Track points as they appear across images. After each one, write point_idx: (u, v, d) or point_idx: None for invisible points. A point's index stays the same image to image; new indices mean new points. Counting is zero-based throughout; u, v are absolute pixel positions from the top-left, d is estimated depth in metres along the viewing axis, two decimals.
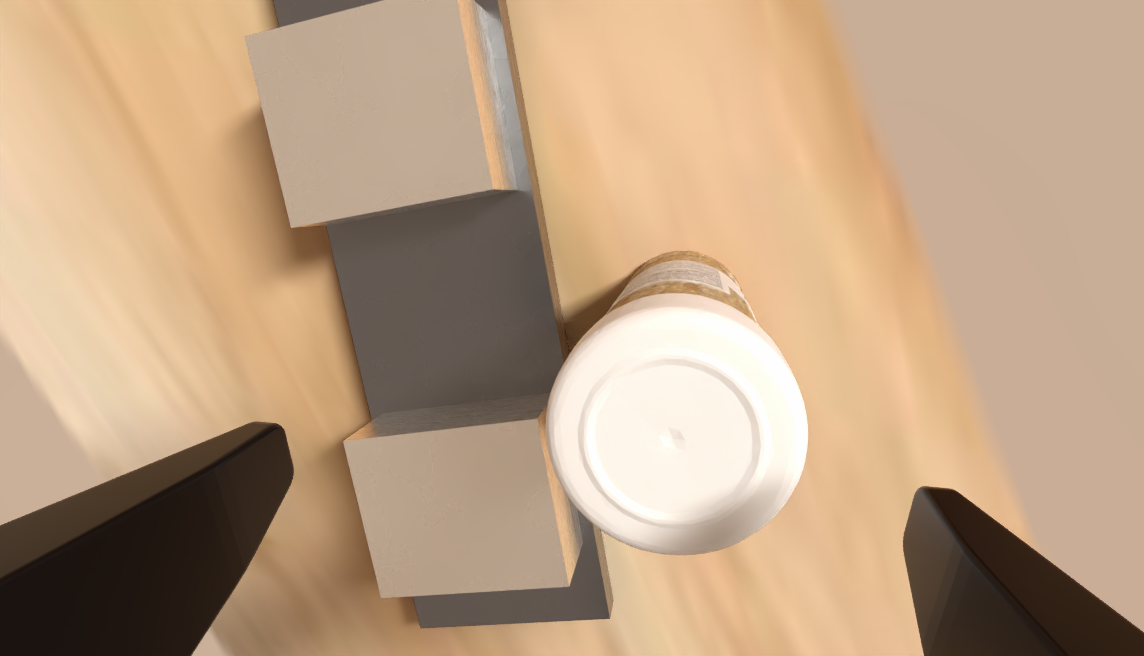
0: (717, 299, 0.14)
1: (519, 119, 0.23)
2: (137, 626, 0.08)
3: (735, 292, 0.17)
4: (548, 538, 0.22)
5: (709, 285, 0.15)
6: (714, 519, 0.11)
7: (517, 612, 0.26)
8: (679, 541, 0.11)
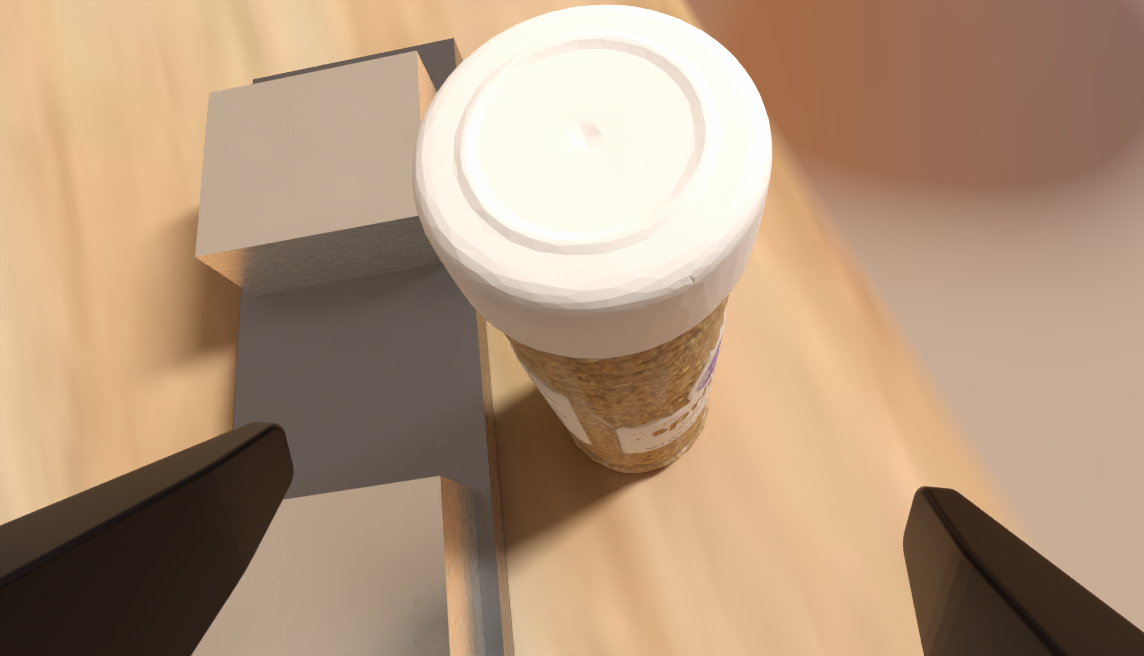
0: None
1: None
2: (137, 626, 0.08)
3: None
4: None
5: None
6: (645, 234, 0.07)
7: None
8: (592, 274, 0.07)
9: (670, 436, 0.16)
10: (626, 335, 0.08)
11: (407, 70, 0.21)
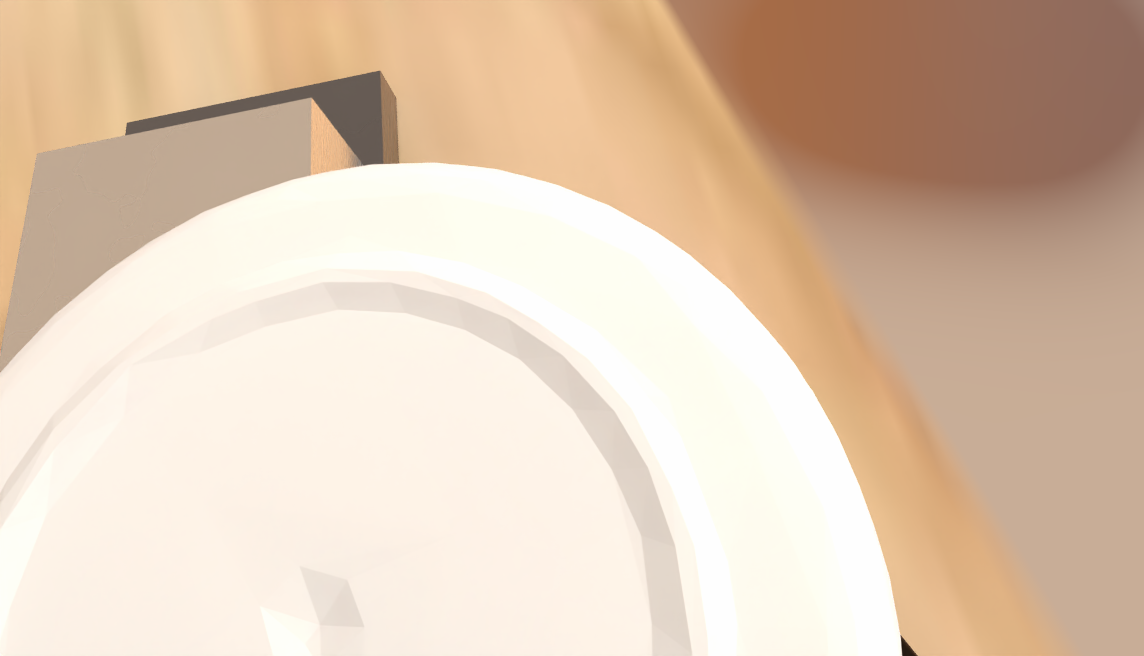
0: None
1: None
2: None
3: None
4: None
5: None
6: None
7: None
8: None
9: None
10: None
11: (297, 125, 0.15)
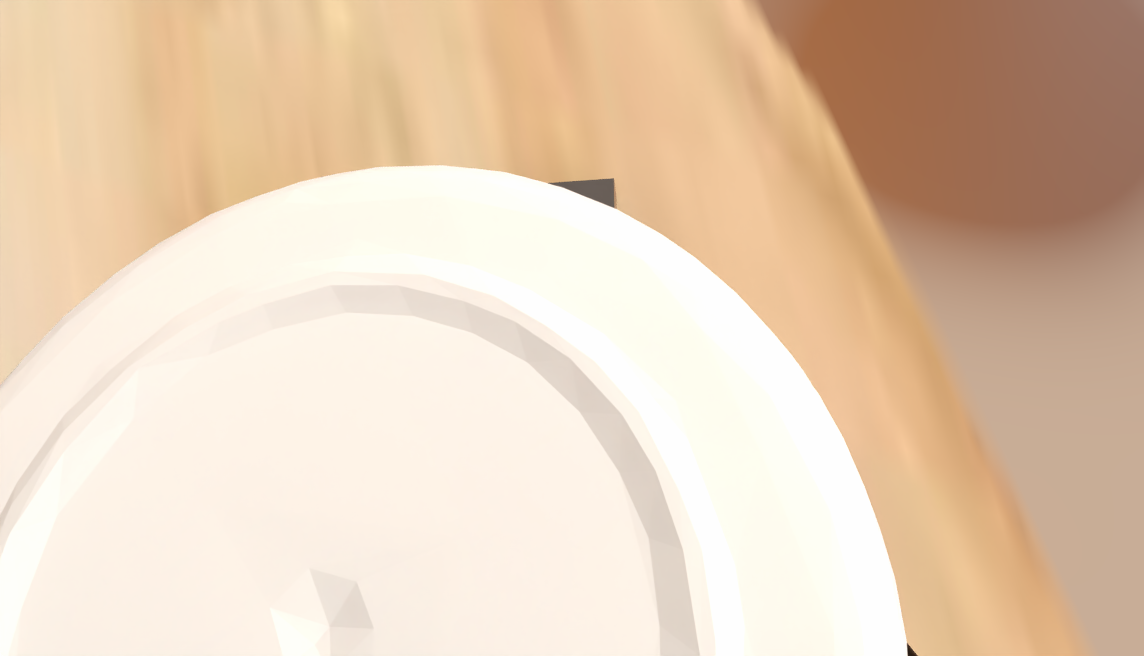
0: None
1: None
2: None
3: None
4: None
5: None
6: None
7: None
8: None
9: None
10: None
11: None
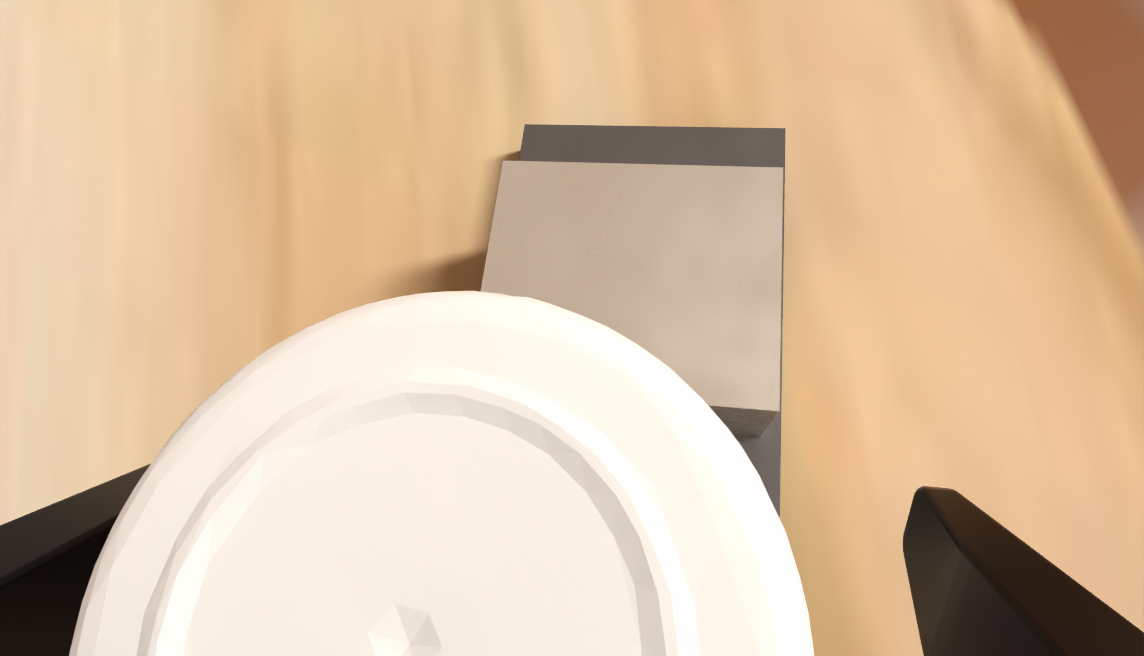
0: None
1: (781, 351, 0.17)
2: None
3: None
4: None
5: None
6: None
7: None
8: None
9: None
10: None
11: (768, 193, 0.16)
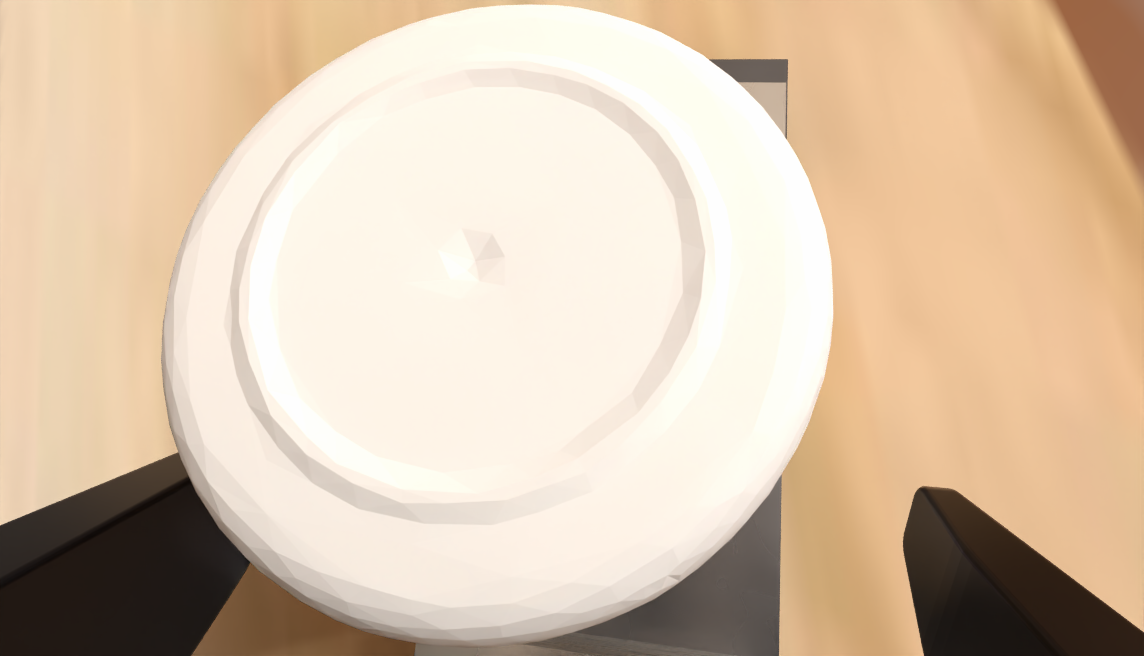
0: None
1: None
2: (137, 626, 0.08)
3: None
4: None
5: None
6: (579, 485, 0.04)
7: None
8: (469, 571, 0.04)
9: None
10: None
11: (771, 106, 0.16)
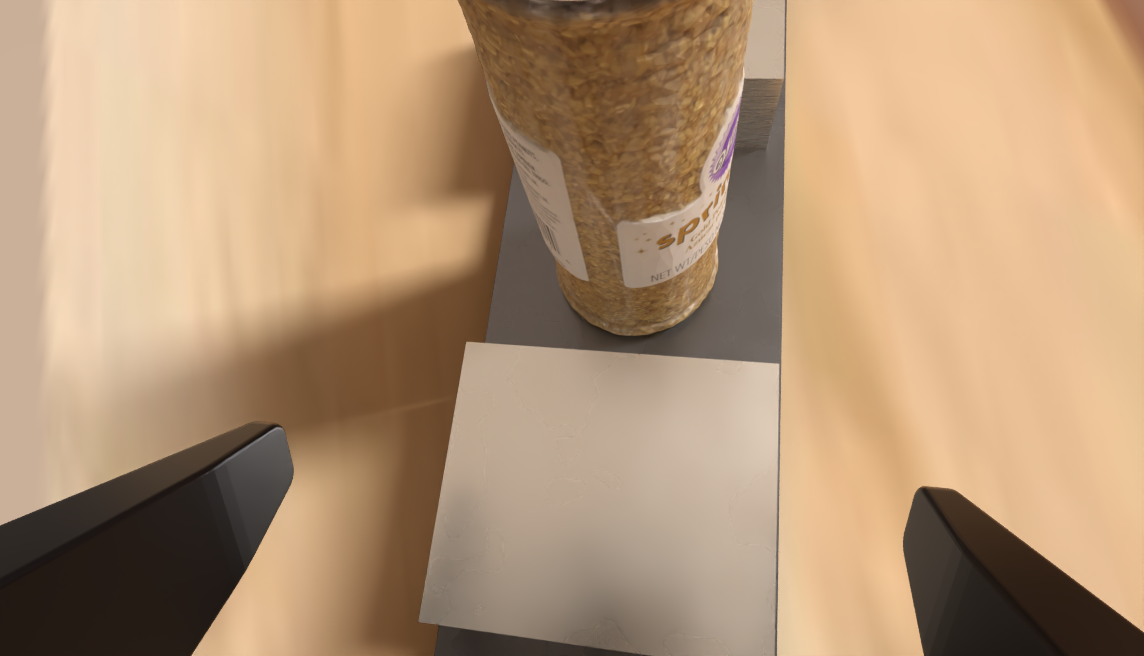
0: None
1: None
2: (137, 626, 0.08)
3: None
4: (755, 568, 0.13)
5: None
6: None
7: None
8: None
9: (677, 259, 0.14)
10: None
11: None
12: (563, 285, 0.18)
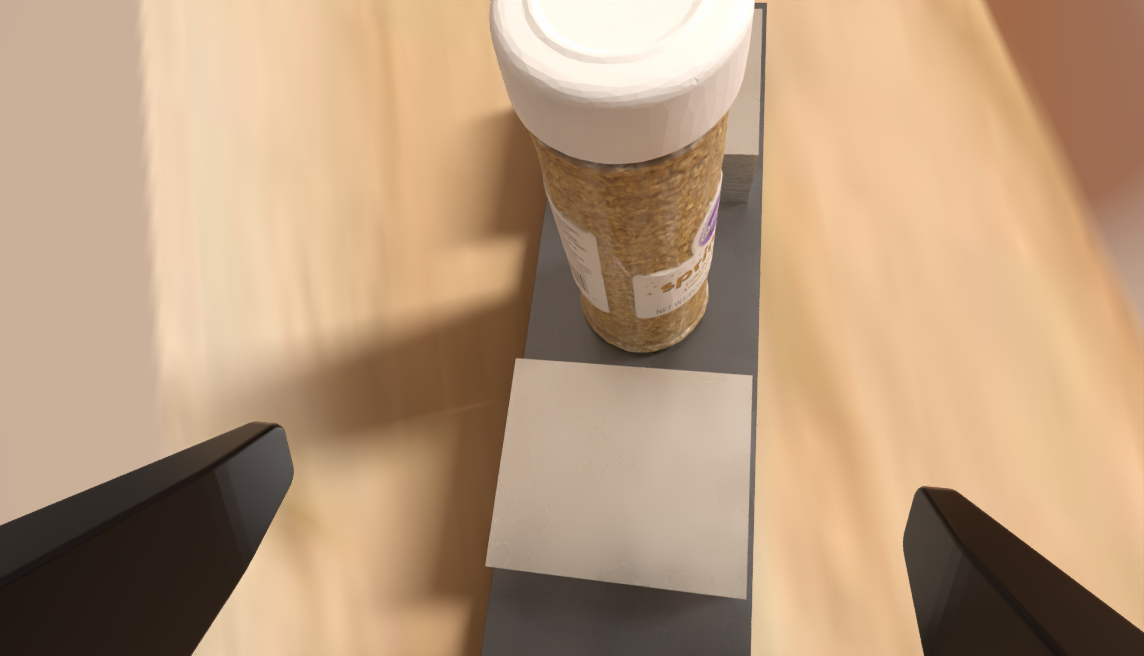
0: None
1: None
2: (137, 626, 0.08)
3: None
4: (733, 525, 0.18)
5: None
6: (663, 48, 0.10)
7: None
8: (626, 76, 0.10)
9: (676, 298, 0.19)
10: (648, 133, 0.11)
11: (752, 25, 0.23)
12: (586, 312, 0.23)
